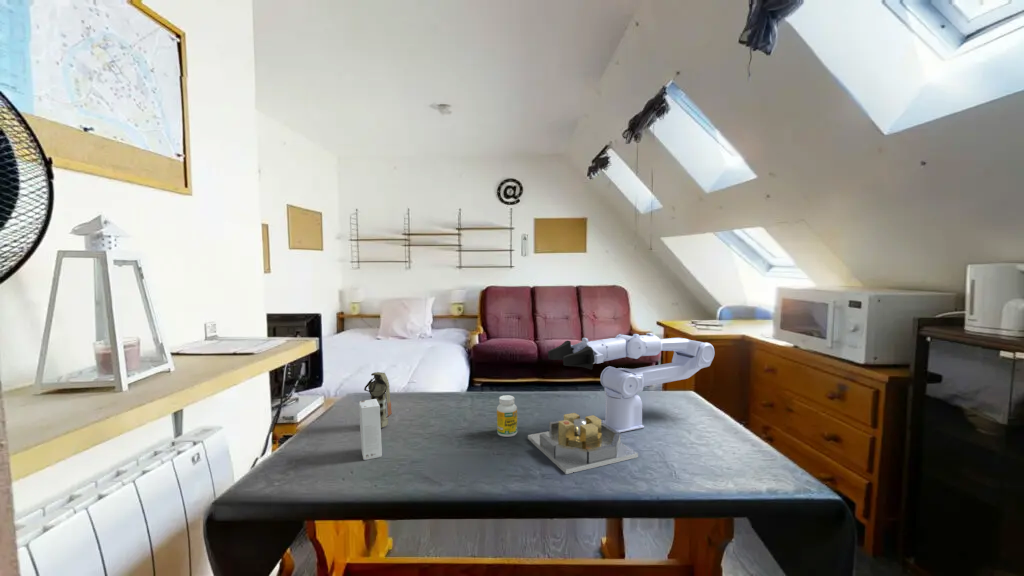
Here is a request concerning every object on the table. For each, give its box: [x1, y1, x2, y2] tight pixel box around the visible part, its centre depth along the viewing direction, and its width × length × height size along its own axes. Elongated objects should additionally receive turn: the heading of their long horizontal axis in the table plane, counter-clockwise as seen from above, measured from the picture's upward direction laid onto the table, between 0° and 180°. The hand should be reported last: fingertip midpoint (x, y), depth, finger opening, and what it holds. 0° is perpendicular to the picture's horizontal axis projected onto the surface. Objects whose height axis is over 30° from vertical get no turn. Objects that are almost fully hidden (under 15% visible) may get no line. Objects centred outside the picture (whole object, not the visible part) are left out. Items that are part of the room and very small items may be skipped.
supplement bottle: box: [496, 394, 518, 438], centre depth 104 cm, size 5×5×10 cm
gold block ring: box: [558, 412, 602, 449], centre depth 95 cm, size 10×10×6 cm
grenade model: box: [363, 371, 393, 429], centre depth 108 cm, size 6×7×15 cm
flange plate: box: [527, 418, 639, 475], centre depth 95 cm, size 19×19×7 cm
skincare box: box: [358, 398, 383, 461], centre depth 93 cm, size 6×4×12 cm
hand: (556, 358), depth 100 cm, fingers open, 7 cm apart
